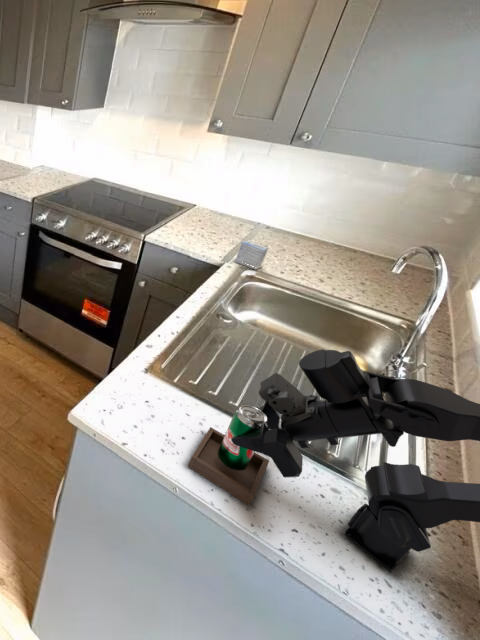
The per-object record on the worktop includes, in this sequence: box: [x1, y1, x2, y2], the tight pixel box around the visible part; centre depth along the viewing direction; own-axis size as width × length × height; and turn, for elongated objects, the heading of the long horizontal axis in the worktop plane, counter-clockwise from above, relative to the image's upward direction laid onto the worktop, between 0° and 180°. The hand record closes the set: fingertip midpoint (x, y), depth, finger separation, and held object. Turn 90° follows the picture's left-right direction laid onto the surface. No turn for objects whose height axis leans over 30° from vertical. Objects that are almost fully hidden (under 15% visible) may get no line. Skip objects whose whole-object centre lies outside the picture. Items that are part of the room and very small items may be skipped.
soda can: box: [218, 404, 268, 471], centre depth 78 cm, size 5×5×12 cm
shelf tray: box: [187, 426, 270, 506], centre depth 81 cm, size 11×11×3 cm
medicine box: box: [234, 239, 269, 271], centre depth 163 cm, size 8×4×9 cm, turn 34°
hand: (234, 432), depth 78 cm, fingers closed on soda can, 5 cm apart
